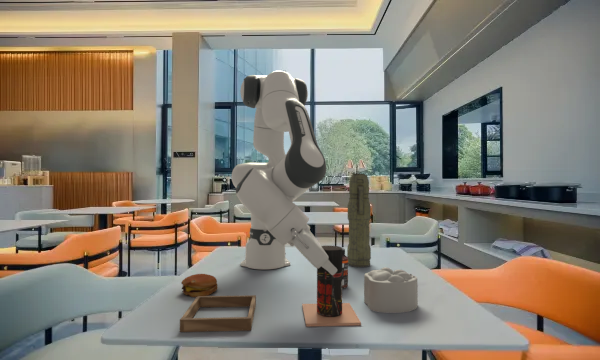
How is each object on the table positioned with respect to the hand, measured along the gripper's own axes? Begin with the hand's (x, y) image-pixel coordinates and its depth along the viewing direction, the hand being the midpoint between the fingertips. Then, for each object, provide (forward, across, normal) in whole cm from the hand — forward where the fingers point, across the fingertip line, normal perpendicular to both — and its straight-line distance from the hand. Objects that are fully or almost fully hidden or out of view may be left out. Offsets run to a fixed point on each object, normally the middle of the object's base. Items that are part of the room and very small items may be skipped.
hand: (332, 268), depth 78 cm
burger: (-17, +19, +33) cm, 41 cm away
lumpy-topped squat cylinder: (+20, +6, -4) cm, 21 cm away
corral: (-10, 0, +26) cm, 28 cm away
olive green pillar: (+21, +49, -5) cm, 53 cm away
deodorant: (+7, 0, +8) cm, 10 cm away
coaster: (+7, 0, +8) cm, 11 cm away
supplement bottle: (+12, +22, +4) cm, 25 cm away
